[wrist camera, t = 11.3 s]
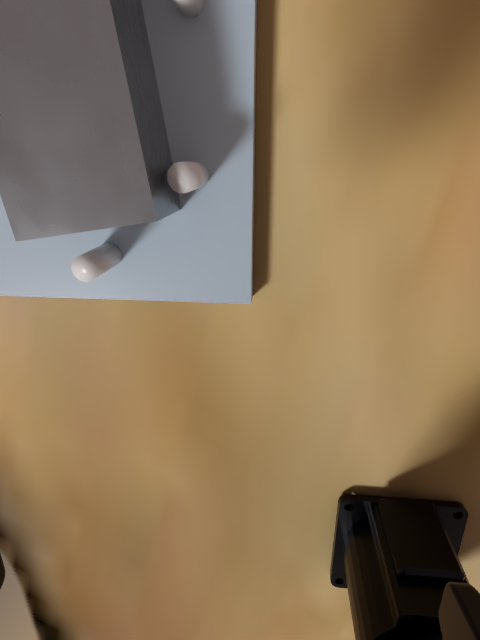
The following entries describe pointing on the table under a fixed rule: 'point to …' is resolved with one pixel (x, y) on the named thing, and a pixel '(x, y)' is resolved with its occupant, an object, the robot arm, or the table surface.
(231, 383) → the table surface
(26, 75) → the block
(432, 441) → the table surface
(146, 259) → the pin cradle
